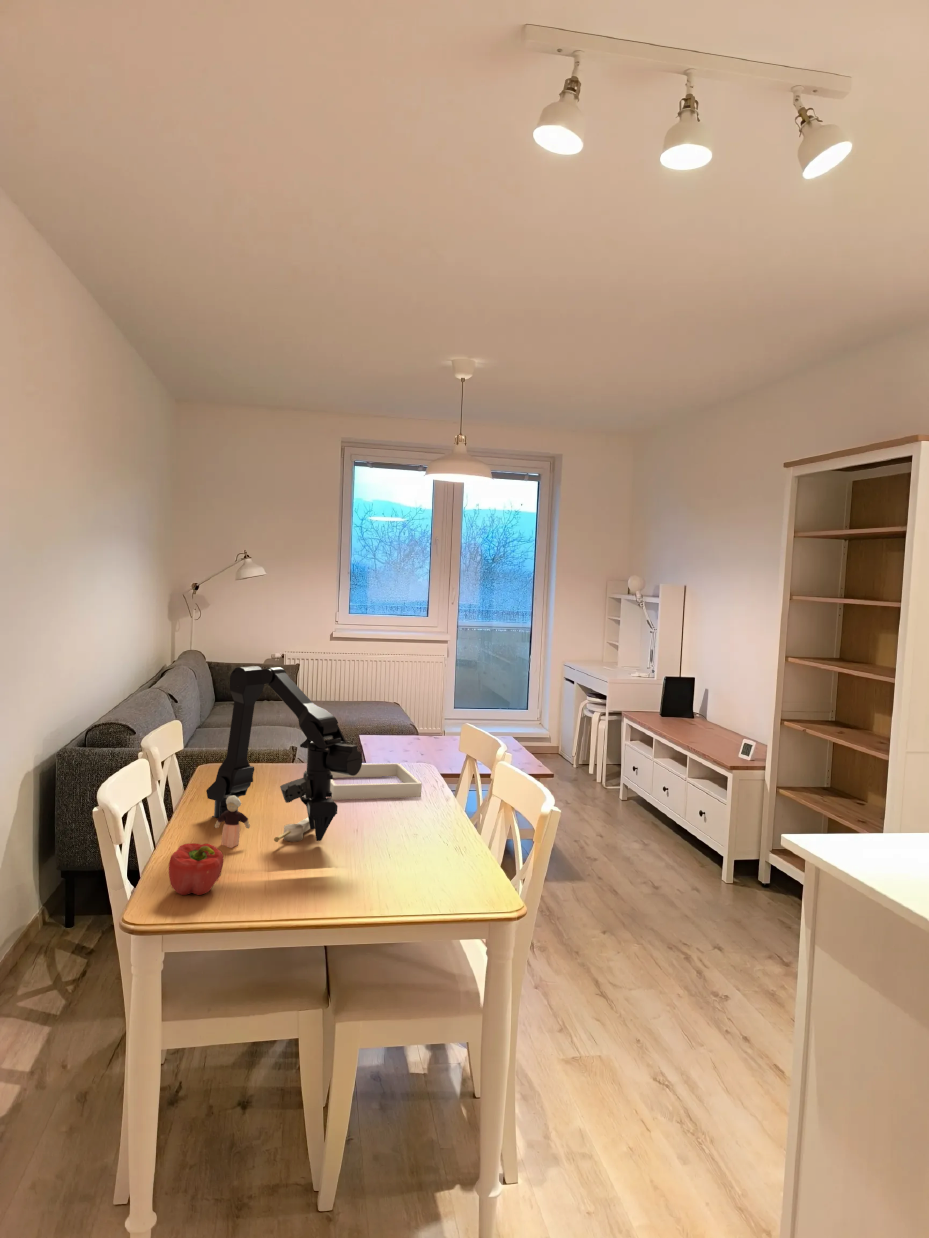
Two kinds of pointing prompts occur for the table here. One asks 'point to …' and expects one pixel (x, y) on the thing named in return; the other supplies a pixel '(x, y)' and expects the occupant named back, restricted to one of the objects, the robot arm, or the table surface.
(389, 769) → the tray
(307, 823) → the beige dial pointer lever
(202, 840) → the table surface
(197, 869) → the vegetable
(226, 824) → the grandmother figurine
